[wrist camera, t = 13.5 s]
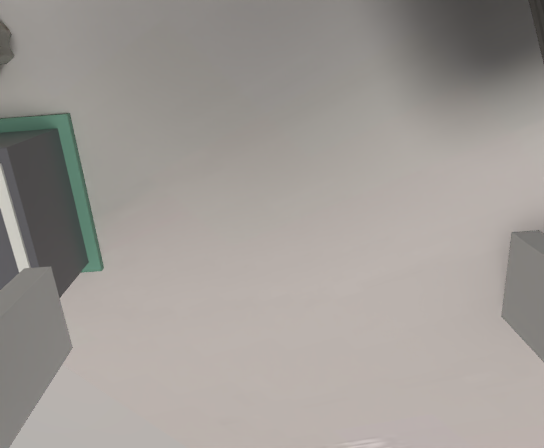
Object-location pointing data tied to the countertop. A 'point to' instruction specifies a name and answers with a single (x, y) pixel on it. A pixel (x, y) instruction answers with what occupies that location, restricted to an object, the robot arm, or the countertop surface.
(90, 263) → the board
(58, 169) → the block
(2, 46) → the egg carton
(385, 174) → the countertop surface
